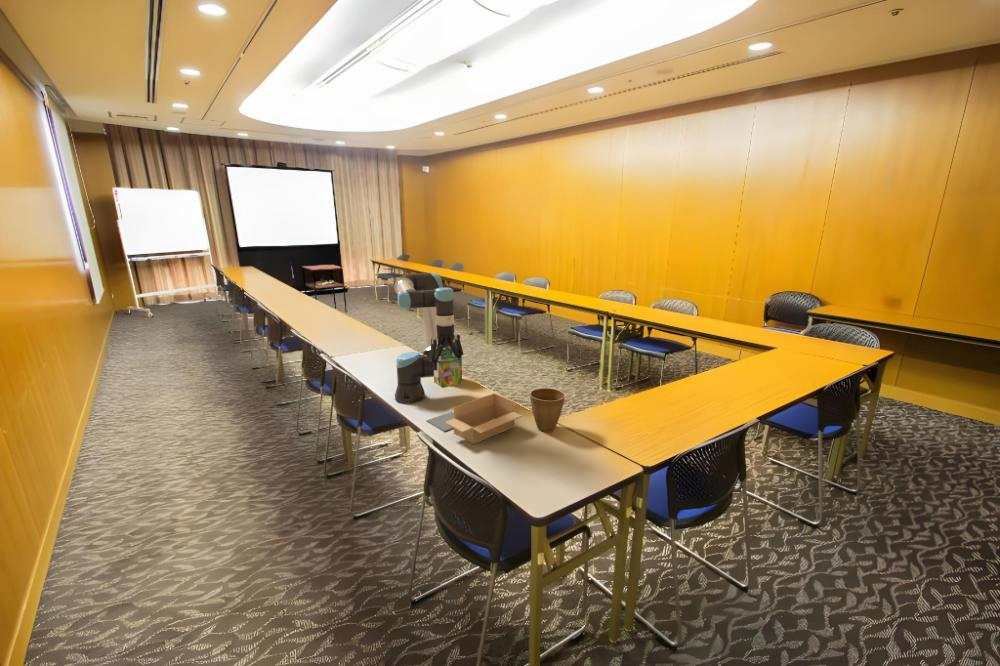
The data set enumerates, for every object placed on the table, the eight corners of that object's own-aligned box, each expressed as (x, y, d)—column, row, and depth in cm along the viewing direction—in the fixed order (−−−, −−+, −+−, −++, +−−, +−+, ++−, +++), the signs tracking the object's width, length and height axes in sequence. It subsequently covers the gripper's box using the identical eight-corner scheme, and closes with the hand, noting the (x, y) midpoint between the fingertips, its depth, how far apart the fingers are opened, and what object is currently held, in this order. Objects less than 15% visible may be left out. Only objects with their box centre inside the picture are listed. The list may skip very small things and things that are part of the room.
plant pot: (560, 438, 181) (561, 402, 177) (525, 433, 185) (526, 398, 182) (566, 423, 195) (567, 389, 191) (533, 419, 199) (534, 386, 195)
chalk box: (442, 388, 186) (440, 355, 182) (433, 382, 193) (431, 350, 189) (461, 384, 190) (460, 351, 187) (452, 378, 198) (450, 346, 194)
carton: (444, 436, 183) (443, 410, 180) (494, 417, 201) (494, 393, 198) (471, 452, 170) (470, 424, 167) (522, 430, 188) (522, 404, 185)
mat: (426, 421, 197) (426, 420, 197) (451, 412, 206) (451, 411, 206) (444, 432, 187) (444, 430, 187) (470, 422, 196) (470, 421, 196)
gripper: (428, 330, 175) (430, 382, 181) (471, 321, 190) (472, 370, 195) (418, 326, 181) (420, 377, 186) (460, 319, 195) (461, 366, 201)
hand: (446, 374), depth 191 cm, fingers closed on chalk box, 10 cm apart
